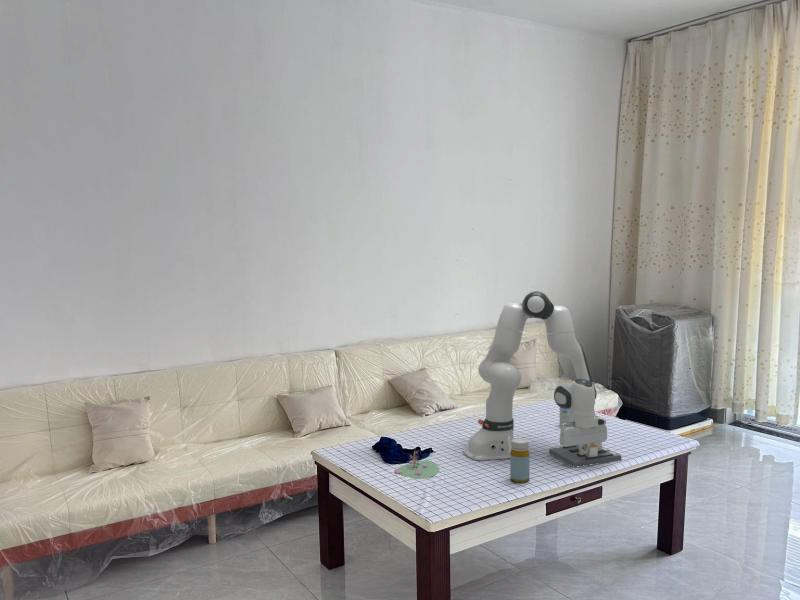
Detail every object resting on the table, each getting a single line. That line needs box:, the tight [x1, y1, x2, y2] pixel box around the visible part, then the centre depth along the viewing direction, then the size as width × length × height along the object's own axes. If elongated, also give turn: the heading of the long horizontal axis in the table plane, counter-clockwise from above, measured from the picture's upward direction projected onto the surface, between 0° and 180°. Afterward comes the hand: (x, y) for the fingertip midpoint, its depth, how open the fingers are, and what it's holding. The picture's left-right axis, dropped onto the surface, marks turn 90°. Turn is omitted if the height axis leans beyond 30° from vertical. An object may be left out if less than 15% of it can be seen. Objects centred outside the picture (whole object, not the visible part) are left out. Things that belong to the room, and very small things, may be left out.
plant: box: [394, 447, 440, 480], centre depth 247 cm, size 25×21×9 cm
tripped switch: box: [585, 444, 598, 457], centre depth 253 cm, size 4×3×4 cm
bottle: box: [509, 437, 530, 483], centre depth 235 cm, size 7×7×15 cm
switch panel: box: [548, 442, 622, 468], centre depth 259 cm, size 22×18×6 cm
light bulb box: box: [559, 407, 572, 428], centre depth 300 cm, size 11×7×11 cm, turn 84°
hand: (583, 454), depth 252 cm, fingers closed
